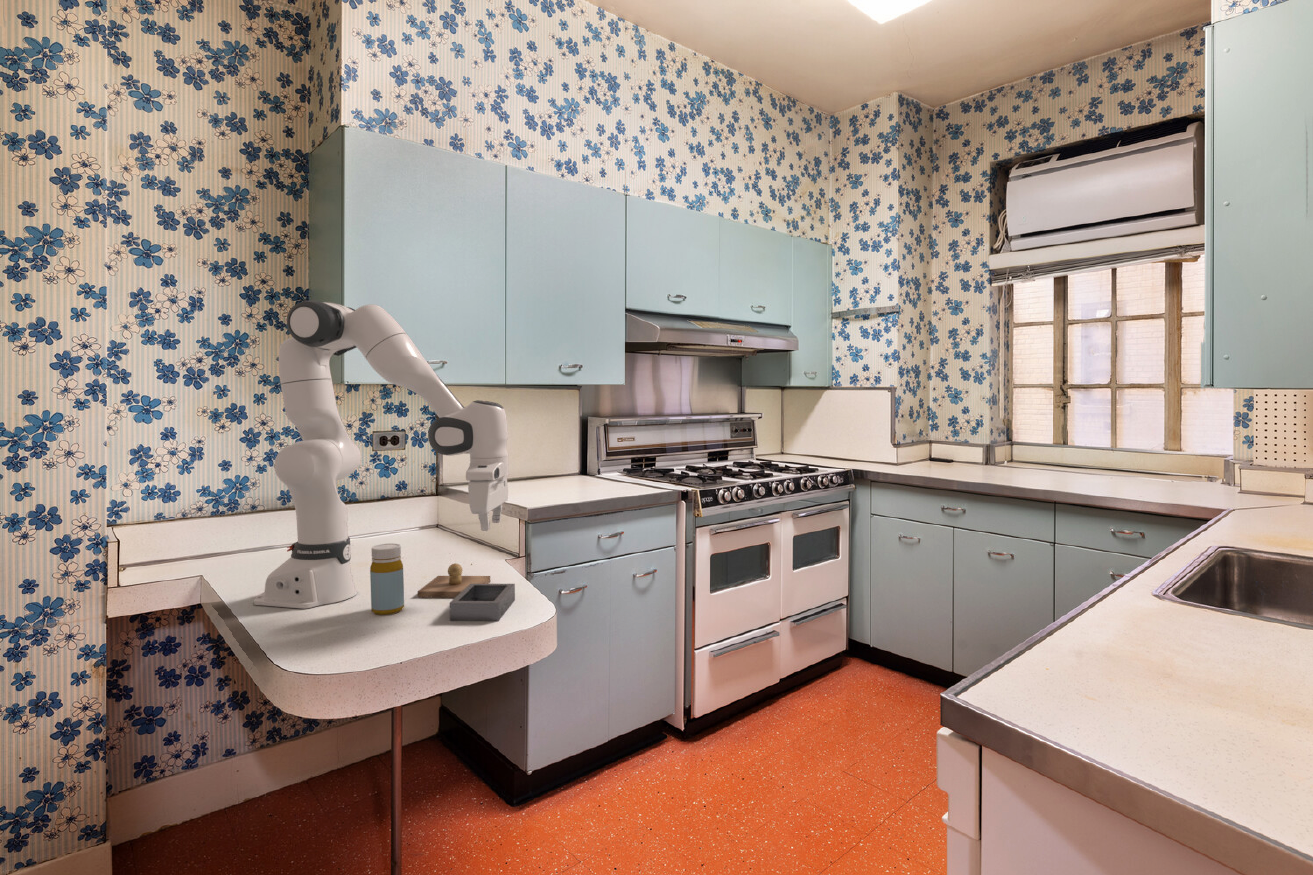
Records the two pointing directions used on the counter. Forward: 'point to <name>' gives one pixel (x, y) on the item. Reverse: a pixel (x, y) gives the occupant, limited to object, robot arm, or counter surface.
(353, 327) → the robot arm
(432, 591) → the keeper
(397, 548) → the bottle
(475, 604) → the grey open tray
